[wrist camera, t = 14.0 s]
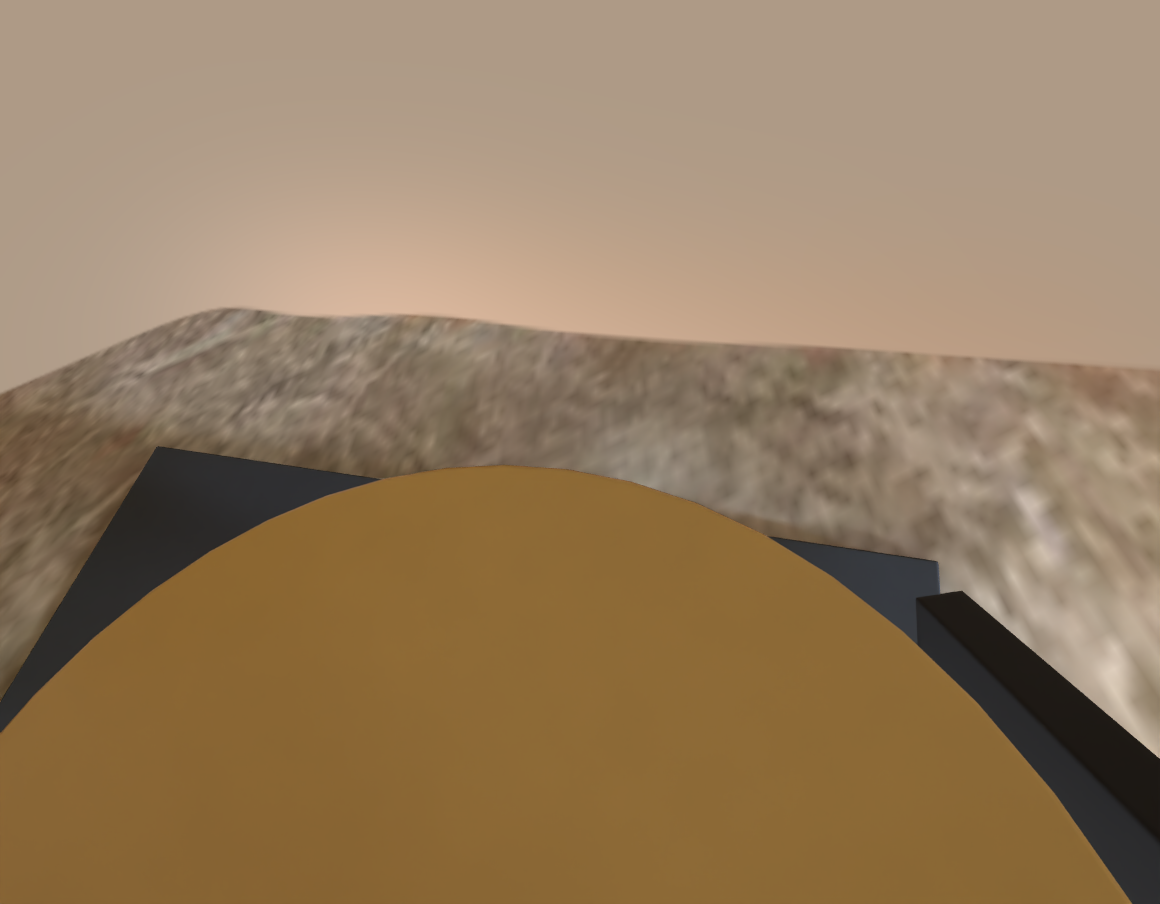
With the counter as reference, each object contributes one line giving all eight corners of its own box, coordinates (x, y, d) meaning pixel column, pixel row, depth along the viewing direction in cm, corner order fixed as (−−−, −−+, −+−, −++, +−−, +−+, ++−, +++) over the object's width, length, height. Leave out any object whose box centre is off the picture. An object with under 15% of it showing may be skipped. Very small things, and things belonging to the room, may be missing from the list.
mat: (930, 567, 15) (939, 560, 15) (984, 1598, 9) (1005, 1652, 8) (169, 452, 22) (156, 445, 21) (-157, 996, 15) (-188, 1005, 14)
